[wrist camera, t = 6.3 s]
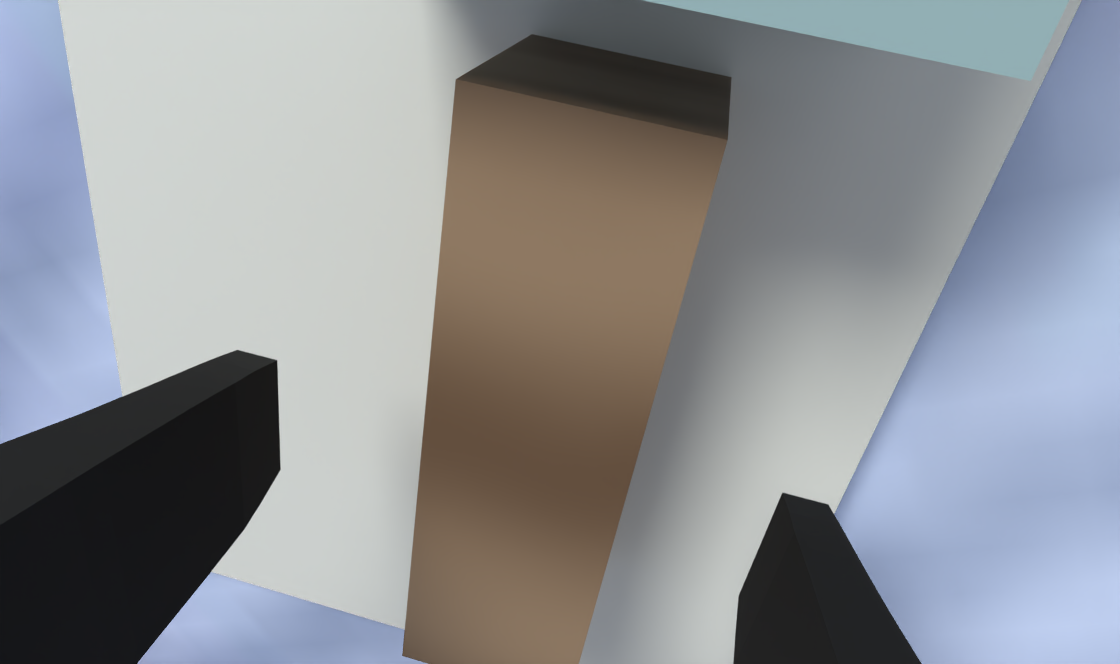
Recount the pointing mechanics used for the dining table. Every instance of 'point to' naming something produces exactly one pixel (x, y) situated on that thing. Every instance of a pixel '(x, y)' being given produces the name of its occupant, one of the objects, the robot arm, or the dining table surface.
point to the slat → (550, 335)
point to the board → (413, 257)
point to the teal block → (913, 27)
